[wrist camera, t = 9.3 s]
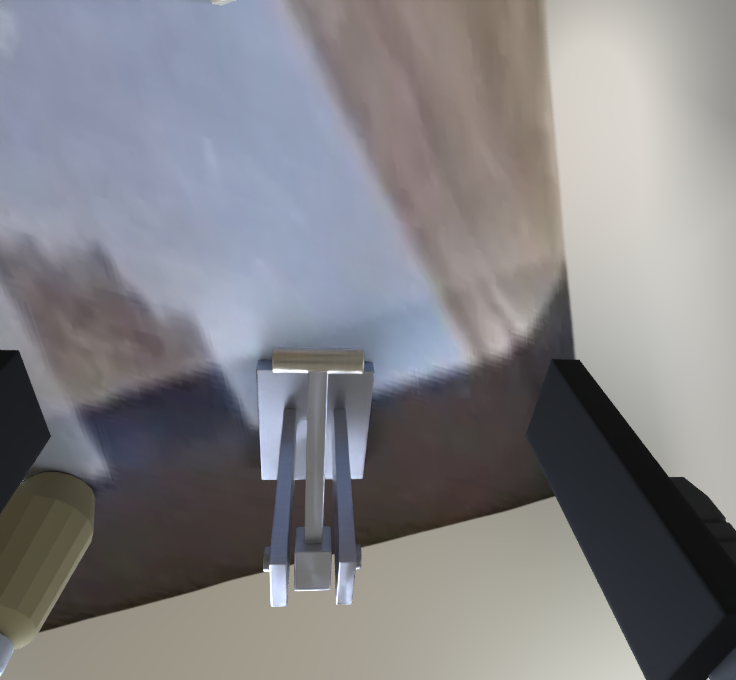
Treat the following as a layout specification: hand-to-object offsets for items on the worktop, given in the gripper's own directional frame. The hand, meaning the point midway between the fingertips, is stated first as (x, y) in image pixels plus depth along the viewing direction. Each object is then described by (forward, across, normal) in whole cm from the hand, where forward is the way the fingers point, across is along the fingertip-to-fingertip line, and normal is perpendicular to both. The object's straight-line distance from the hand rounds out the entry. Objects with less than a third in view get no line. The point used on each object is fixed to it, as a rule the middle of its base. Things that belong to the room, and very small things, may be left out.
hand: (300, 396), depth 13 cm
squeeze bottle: (+22, -22, -29) cm, 42 cm away
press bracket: (+22, 0, -20) cm, 30 cm away
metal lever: (+12, 0, -15) cm, 19 cm away
